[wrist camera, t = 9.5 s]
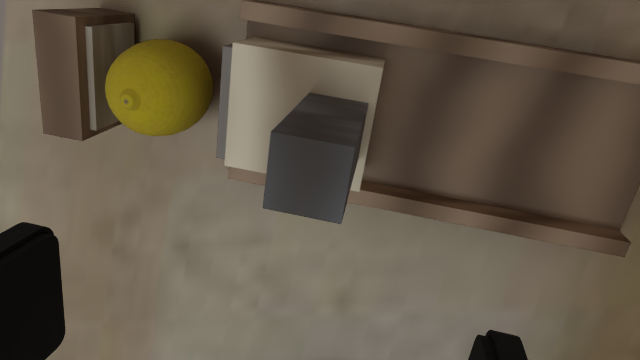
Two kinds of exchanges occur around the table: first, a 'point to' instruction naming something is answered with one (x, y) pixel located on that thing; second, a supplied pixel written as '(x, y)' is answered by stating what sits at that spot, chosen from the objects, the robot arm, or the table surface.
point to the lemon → (159, 87)
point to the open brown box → (78, 67)
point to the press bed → (485, 127)
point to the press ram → (298, 121)
